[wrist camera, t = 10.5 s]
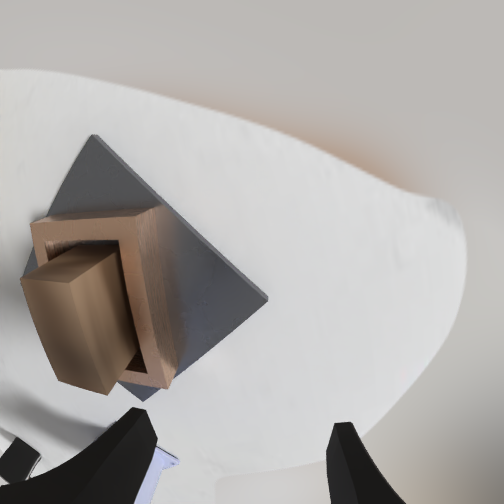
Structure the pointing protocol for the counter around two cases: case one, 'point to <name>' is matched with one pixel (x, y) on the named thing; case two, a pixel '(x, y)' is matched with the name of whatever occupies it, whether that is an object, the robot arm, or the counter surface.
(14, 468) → the battery charger
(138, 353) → the duct collar
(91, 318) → the block
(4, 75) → the counter surface
